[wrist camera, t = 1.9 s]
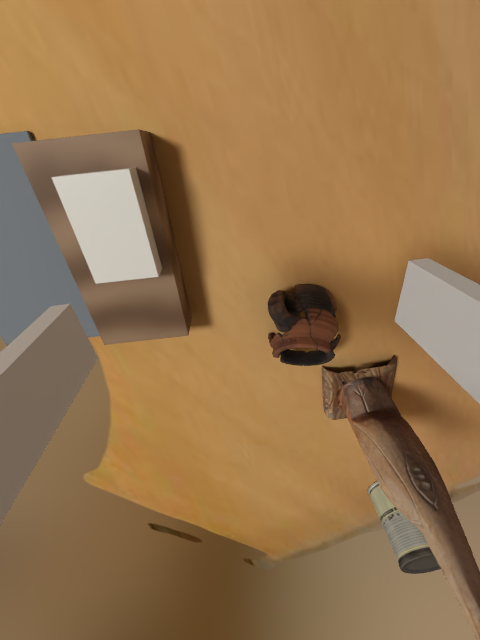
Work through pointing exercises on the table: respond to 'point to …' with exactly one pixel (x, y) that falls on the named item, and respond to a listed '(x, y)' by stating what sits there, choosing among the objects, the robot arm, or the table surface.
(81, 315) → the mat
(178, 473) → the table surface
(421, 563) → the coffee can
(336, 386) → the brown tall tapered piece
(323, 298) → the pottery mug
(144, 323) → the block
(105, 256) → the white rectangular block
